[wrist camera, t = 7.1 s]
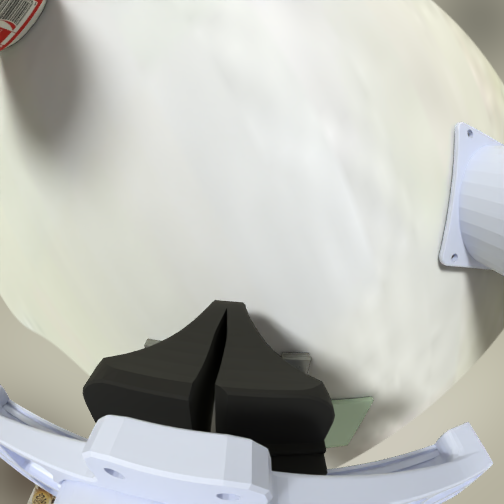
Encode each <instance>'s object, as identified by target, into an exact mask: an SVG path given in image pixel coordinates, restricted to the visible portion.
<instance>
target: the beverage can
mask: <svg viewBox="0 0 504 504" xmlns="http://www.w3.org/2000/svg"><path fill="white" fill-rule="evenodd" d="M45 4H46V0H0V51H2V50H3V49H5V48H6V47H8V46H10V45H12V44H14V43H16V42H17V41H18V40H20V39H21V38H22V37H23V36H24V35H25V34H26V33H27V32H28V30H29V29H30V28H31V27H32V26H33V24H34V23H35V22H36V20H37V19H38V17H39V16H40V14H41V12H42V10H43V8H44V6H45Z"/></svg>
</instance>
